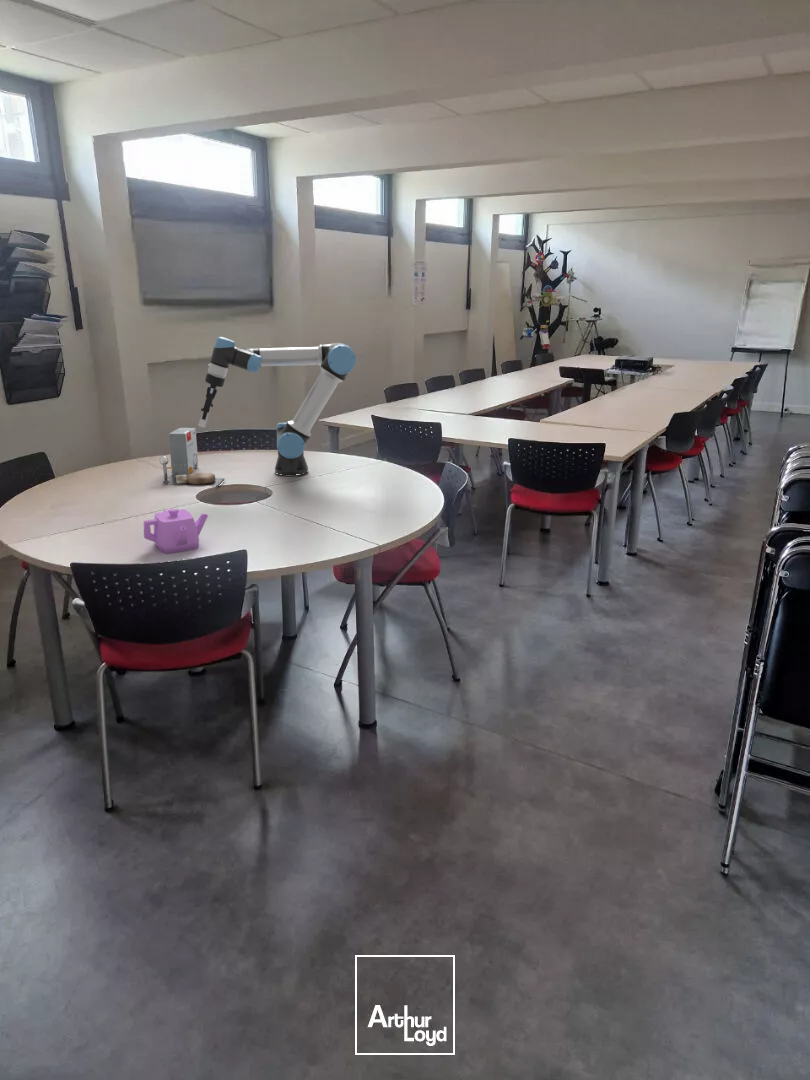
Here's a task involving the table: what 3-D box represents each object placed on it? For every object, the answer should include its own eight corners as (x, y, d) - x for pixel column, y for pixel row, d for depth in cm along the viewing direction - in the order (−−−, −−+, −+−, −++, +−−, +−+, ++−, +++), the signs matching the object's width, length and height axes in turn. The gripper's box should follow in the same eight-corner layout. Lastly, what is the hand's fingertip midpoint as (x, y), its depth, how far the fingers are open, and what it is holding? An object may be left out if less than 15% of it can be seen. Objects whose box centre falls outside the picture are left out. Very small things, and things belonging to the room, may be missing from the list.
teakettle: (167, 535, 242) (164, 500, 238) (213, 539, 238) (210, 504, 234) (139, 551, 227) (134, 515, 222) (187, 556, 223) (183, 519, 219)
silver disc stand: (161, 482, 299) (159, 457, 296) (161, 481, 301) (159, 456, 298) (174, 481, 301) (171, 456, 297) (174, 480, 303) (171, 455, 299)
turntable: (212, 476, 310) (212, 469, 308) (217, 482, 299) (217, 475, 298) (174, 479, 303) (174, 472, 302) (178, 486, 293) (177, 479, 292)
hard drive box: (189, 478, 312) (184, 434, 305) (171, 478, 312) (167, 433, 305) (199, 470, 326) (195, 427, 320) (183, 469, 327) (178, 427, 320)
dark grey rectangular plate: (224, 481, 308) (224, 478, 308) (217, 488, 297) (217, 485, 296) (171, 480, 308) (170, 477, 308) (161, 487, 297) (161, 484, 297)
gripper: (209, 368, 302) (196, 415, 308) (205, 375, 279) (191, 426, 285) (226, 374, 304) (213, 420, 310) (224, 382, 281) (209, 432, 287)
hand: (202, 423), depth 297 cm, fingers open, 13 cm apart
